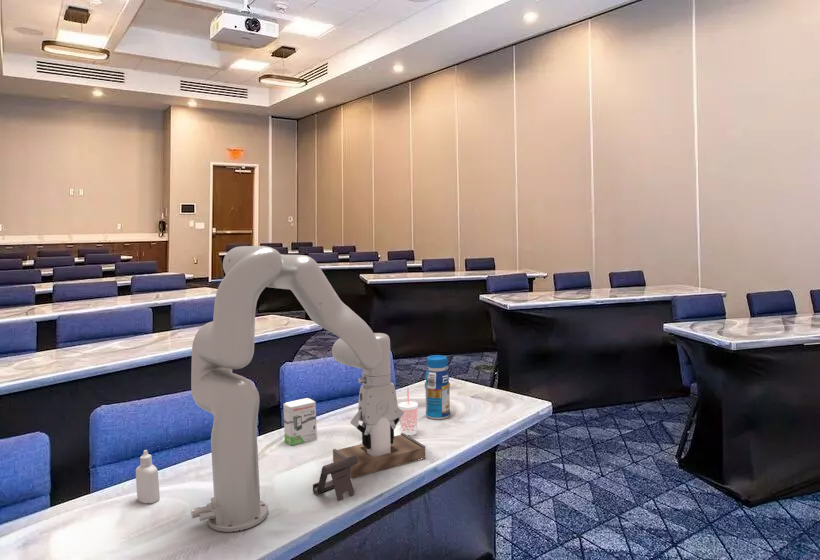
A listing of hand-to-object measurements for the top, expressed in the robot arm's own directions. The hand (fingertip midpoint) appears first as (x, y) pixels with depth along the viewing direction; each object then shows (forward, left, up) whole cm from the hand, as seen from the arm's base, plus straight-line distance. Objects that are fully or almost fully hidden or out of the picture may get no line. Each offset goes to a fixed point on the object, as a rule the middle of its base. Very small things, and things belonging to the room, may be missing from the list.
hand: (378, 444), depth 148 cm
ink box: (-13, +26, -5) cm, 29 cm away
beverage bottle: (+33, +21, -5) cm, 40 cm away
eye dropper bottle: (-56, +10, -5) cm, 57 cm away
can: (0, 0, -3) cm, 3 cm away
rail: (0, 0, -4) cm, 4 cm away
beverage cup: (+17, +13, -5) cm, 22 cm away
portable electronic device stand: (-17, -11, -5) cm, 21 cm away
